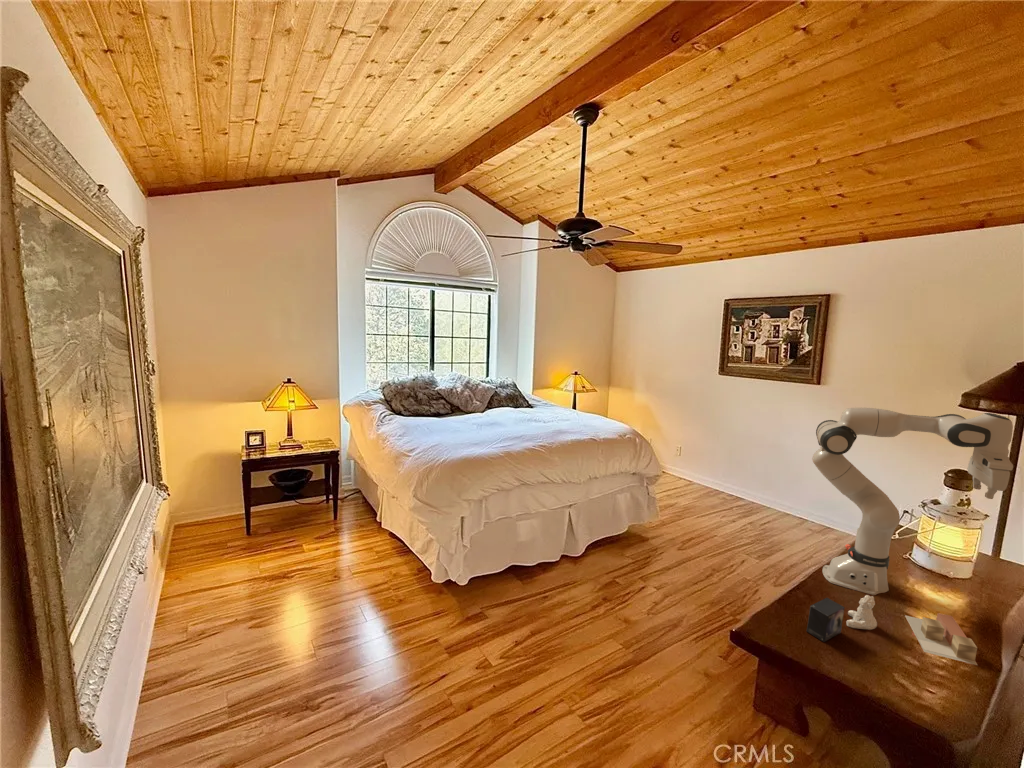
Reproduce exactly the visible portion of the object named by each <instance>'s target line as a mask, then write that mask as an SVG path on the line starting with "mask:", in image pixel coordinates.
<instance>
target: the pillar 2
mask: <svg viewBox="0 0 1024 768" xmlns="http://www.w3.org/2000/svg"><path fill="white" fill-rule="evenodd" d="M966 637H967V636H966ZM966 637H961V636H957V635H953V639H952V645H951V649H952V650H953V652H954V654H955V655H956V657H959V658H963V659H967V660H971V661H976V657H977V656H976V655H977V651H978V647H977V645H976V644H975V642H974V641H973V639H972V638H970V637H967V638H966Z"/></svg>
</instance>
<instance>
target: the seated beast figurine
mask: <svg viewBox="0 0 1024 768" xmlns="http://www.w3.org/2000/svg"><path fill="white" fill-rule="evenodd" d="M858 604H859V606H858V607H857V608H856V610H857V611H856V610H851V609H850V610H848V611H847V615H848V616H849V617H851V618H852V619H847V620H846V621H845V622H846V626H847V627H849V628H852V629H860V630H869V631H871V630H875V629H876V628H877V626H878V622H877V619H876V618H875V616H874V614H873V612H874V611H873V608H874V606H875V605H876V601H875V597H874V595H871V596H870V594H866V595H864V597H862V598H861V597H860V600H859V601H858Z"/></svg>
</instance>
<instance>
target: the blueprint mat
mask: <svg viewBox="0 0 1024 768" xmlns="http://www.w3.org/2000/svg"><path fill="white" fill-rule="evenodd" d="M904 617H905V618H906V620H907V622H908V624H909V626H910V628H911V630H912V632H913V634H914V636H915V637H916V639H917V641H918V643H919V645H920V647H921V649H922V650H923V652H924V653H928V654H931V655H934V656H939V657H942V658H947V659H950V660H951V659H952V660H955V661H959V662H964V663H966V664H970V665H975V666H979V665H978V663H977V662H976V660H975V661H971V660H967V659H963V658H959V657H956V655H955V654H954V652H953V650H952V649H951V645H950V644H949V643H948V641H947V640H946V638H945V636H944V635H943V640H942V642H941V641H937V640H933V639H929V638H925V636H924V634H923V633H922V631H921V625H922V619H923V618H920V617H914V616H909V615H906V614H905V615H904Z"/></svg>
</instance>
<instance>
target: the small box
mask: <svg viewBox="0 0 1024 768" xmlns="http://www.w3.org/2000/svg"><path fill="white" fill-rule="evenodd" d="M844 613H845V606H843V605H841V604H840V603H838V602H836V601H834V600H832V599H830V598H829V597H826V598H823V599H821V600H819V601H817V602H815V603H813V604H811V605H810V606H809V614H808V618H807V619H808V621H807V627H806V632H807V633H809V635H811V636H814V637H815V638H816V639H818V640H820V641H821V642H823V643H825V642H827V641H829V640H830V639H833V638H834V637H836V636H837V635H840V634H841V633H842V627H843V620H844Z"/></svg>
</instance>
